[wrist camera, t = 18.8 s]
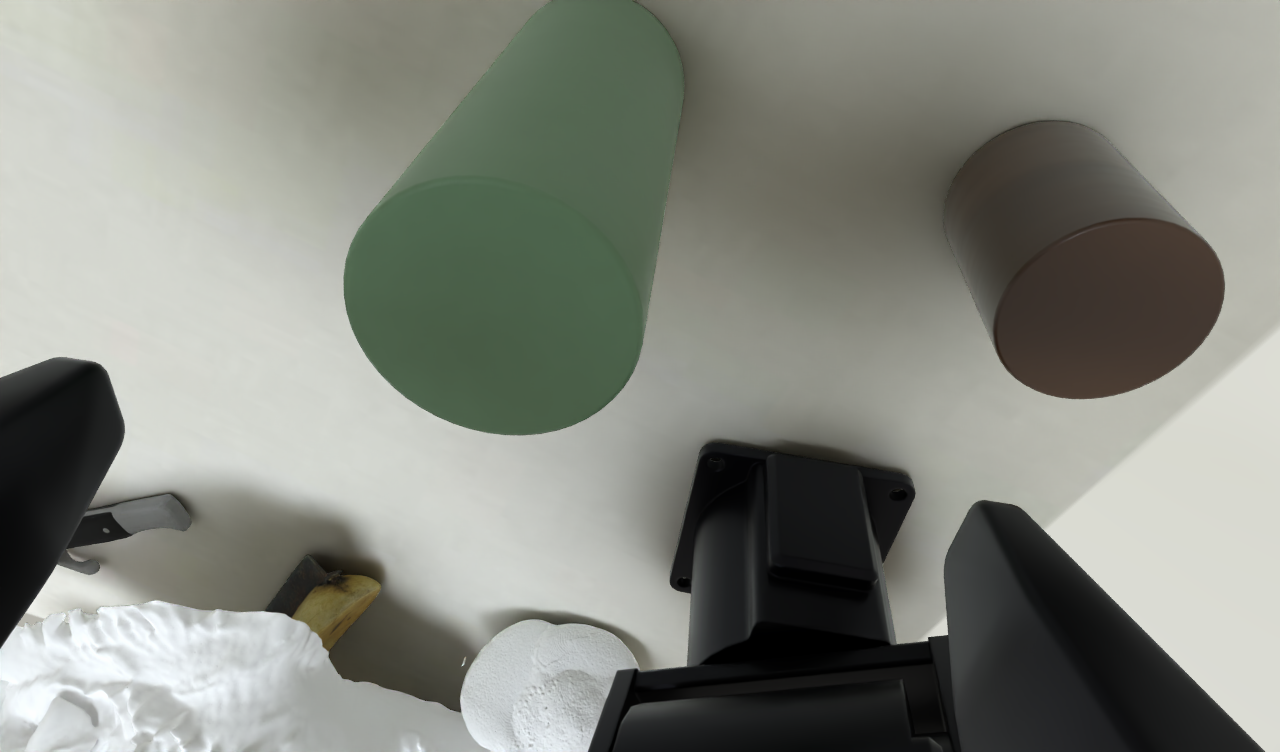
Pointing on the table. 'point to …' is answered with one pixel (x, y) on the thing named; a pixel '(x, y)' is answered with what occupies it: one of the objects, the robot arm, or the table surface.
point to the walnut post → (1078, 263)
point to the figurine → (200, 688)
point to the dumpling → (541, 686)
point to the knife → (123, 525)
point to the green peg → (528, 228)
